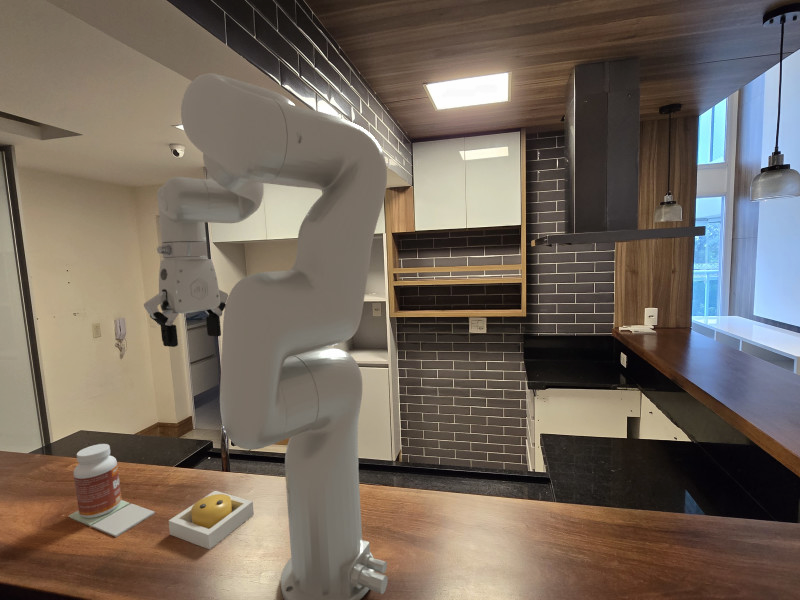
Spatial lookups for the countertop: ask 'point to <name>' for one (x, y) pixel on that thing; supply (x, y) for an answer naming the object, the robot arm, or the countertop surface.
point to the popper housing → (210, 537)
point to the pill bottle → (96, 481)
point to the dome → (211, 510)
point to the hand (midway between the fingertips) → (193, 340)
